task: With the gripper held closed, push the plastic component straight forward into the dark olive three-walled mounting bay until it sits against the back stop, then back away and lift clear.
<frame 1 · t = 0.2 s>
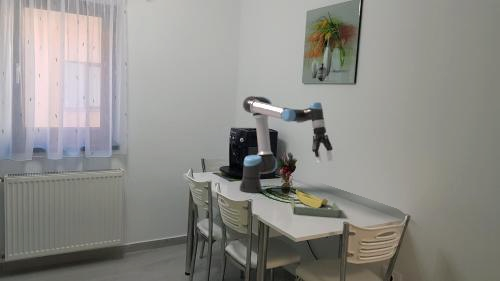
hand: (324, 161, 227), 27 cm above the table, tool tilted 15°, fingers open, 13 cm apart
mounting bay: (314, 211, 216), on the table
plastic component: (310, 204, 232), on the table
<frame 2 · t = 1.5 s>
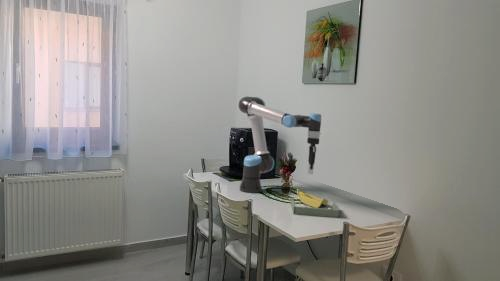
hand: (310, 173, 242), 17 cm above the table, tool pointing down, fingers open, 3 cm apart
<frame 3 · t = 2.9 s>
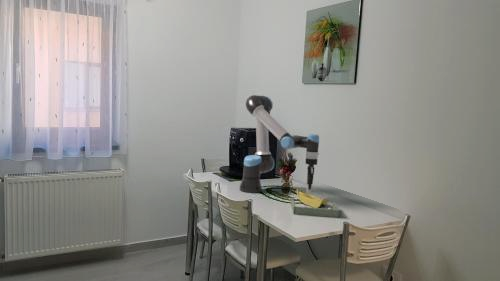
hand: (308, 193, 244), 3 cm above the table, tool pointing down, fingers closed
nothing on the table moved.
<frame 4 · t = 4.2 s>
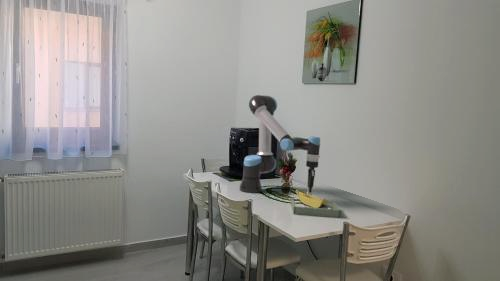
hand: (309, 196, 240), 2 cm above the table, tool pointing down, fingers closed
nothing on the table moved.
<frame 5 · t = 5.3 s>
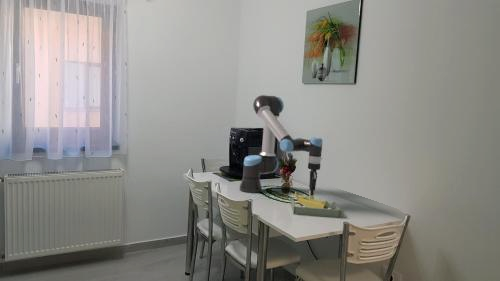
hand: (311, 199, 232), 2 cm above the table, tool pointing down, fingers closed
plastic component: (310, 206, 226), on the table, touching gripper
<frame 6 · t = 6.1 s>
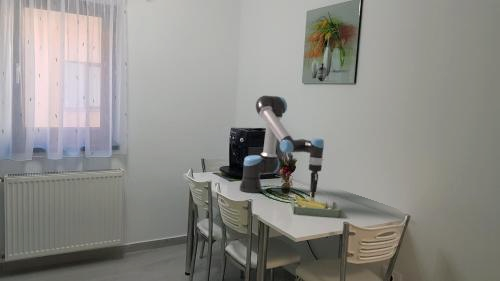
hand: (312, 202, 228), 2 cm above the table, tool pointing down, fingers closed
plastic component: (309, 208, 222), resting in mounting bay, touching gripper
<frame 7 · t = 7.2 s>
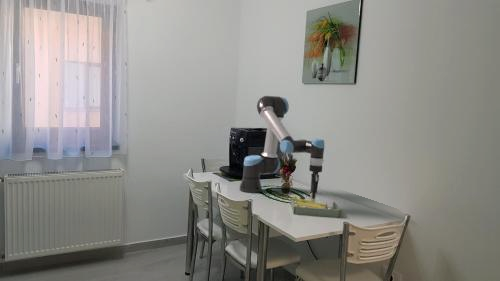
hand: (312, 203, 225), 2 cm above the table, tool pointing down, fingers closed
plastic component: (309, 209, 220), resting in mounting bay, touching gripper
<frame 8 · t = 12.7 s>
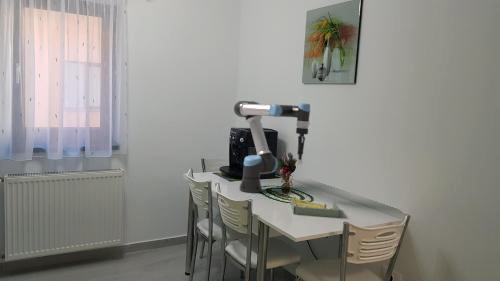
hand: (299, 164, 239), 22 cm above the table, tool pointing down, fingers closed
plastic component: (308, 210, 218), resting in mounting bay
at the end: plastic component inside the target area on the mounting bay (3.3 cm from its centre), point 0.0 cm above the mounting bay's base; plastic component tilted 0°; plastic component moved 14.2 cm from its start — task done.
